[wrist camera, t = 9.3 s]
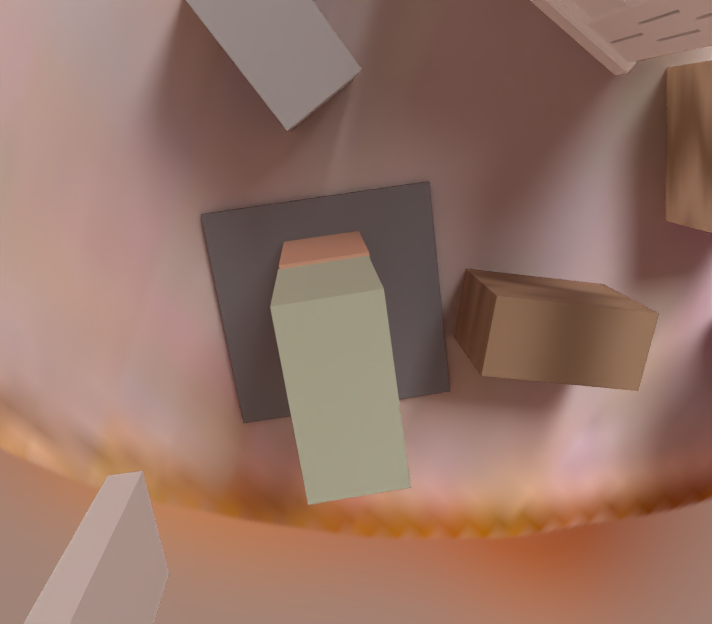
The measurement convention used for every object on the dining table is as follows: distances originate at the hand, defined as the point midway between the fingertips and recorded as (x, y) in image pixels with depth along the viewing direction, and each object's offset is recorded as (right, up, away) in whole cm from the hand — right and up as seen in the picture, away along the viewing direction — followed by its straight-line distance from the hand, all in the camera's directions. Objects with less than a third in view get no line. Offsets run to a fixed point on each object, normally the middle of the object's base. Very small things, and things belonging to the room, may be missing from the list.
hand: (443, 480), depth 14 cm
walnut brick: (+8, +4, +22) cm, 23 cm away
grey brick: (-6, +17, +17) cm, 25 cm away
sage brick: (-3, +2, +15) cm, 15 cm away
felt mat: (-3, +4, +21) cm, 21 cm away
